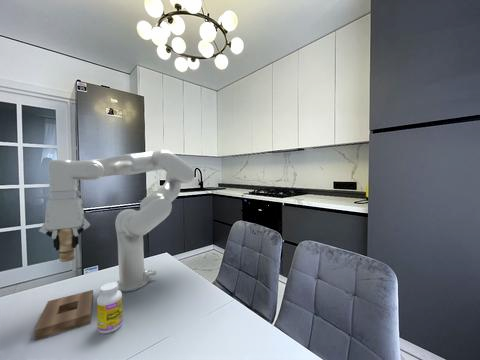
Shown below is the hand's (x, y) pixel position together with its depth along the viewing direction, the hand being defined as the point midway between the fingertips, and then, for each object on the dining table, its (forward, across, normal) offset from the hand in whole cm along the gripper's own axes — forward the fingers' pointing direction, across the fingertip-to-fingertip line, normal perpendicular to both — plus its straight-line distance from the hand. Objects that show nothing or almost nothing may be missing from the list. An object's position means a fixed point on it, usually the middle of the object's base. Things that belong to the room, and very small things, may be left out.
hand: (66, 247), depth 75 cm
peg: (+4, 0, 0) cm, 4 cm away
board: (+21, -1, +6) cm, 22 cm away
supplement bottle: (+22, -14, +18) cm, 31 cm away
